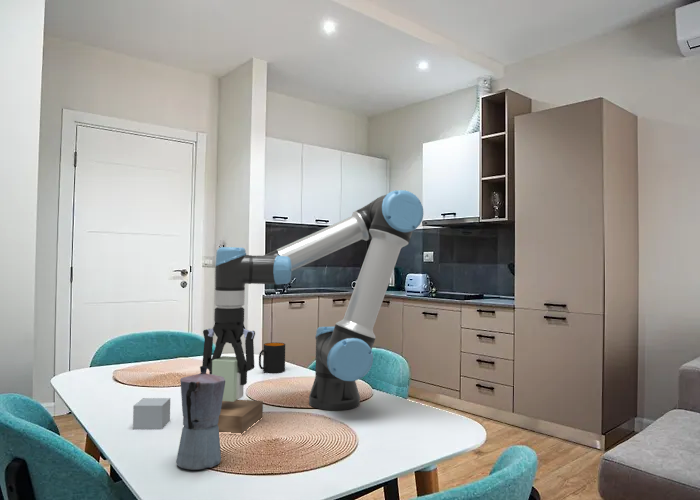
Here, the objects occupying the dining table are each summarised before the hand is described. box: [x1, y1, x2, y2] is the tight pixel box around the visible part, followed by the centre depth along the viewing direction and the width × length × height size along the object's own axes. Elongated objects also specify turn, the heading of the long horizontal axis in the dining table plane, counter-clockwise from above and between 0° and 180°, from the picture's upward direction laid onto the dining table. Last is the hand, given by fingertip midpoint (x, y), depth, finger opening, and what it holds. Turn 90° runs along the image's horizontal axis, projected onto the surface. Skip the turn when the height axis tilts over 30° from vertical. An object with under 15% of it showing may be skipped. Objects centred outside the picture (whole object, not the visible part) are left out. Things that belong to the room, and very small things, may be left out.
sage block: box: [212, 355, 240, 402], centre depth 132 cm, size 6×6×10 cm
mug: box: [258, 342, 286, 374], centre depth 195 cm, size 8×12×10 cm
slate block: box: [132, 397, 171, 431], centre depth 131 cm, size 7×7×6 cm
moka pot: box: [175, 365, 225, 471], centre depth 106 cm, size 10×15×20 cm, turn 2°
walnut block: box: [217, 399, 264, 434], centre depth 132 cm, size 14×14×5 cm
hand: (227, 396), depth 132 cm, fingers closed on sage block, 6 cm apart
